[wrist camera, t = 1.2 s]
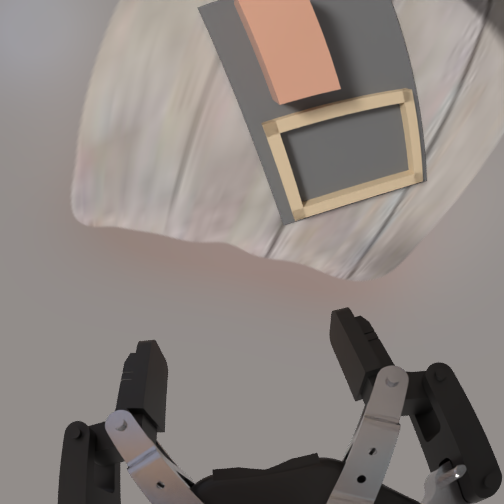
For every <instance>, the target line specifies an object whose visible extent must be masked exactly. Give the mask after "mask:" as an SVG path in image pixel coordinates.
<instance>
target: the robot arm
mask: <svg viewBox="0 0 504 504" xmlns="http://www.w3.org/2000/svg"><path fill="white" fill-rule="evenodd" d="M330 341H331V345H332V347H333V350H334V352H335V354H336V356H337V359H338V361H339V364H340V366H341V368H342V371H343V373H344V375H345V378H346V380H347V382H348V385H349V387H350V390H351V392H352V394H353V397H354V399H355V401H358V400H361V399H363V401H364V403H365V406H364V409H363V412H362V414H361V417H360V420H359V423H358V425H357V428H356V430H355V433H354V435H353V438H352V440H351V443H350V444H349V447H348V449H347V451H346V453H345V455H344V458H343V460H342V461H340V460H336V459H331V458H319V457H318V454H317V453H315V454H311V455H307V456H302V457H298V458H293V459H290V460H288V461H286V462H284V463H281V464H279V465H277V466H274V467H272V468H269V469H266V470H261V469H248V468H239V467H238V468H227V469H215V470H213V475H210V476H208V477H206V478H203V479H202V480H200V481H198V482H197V483H195V482H194V481H193V480H192V479H191V478H190V477H189V476H188V475H187V474H186V473H185V472H184V471H183V470H182V469H181V468H180V467H179V466H178V465H177V464H176V463H175V461H174V460H173V459H172V458H171V457H170V456H169V455H168V453H167V452H166V451H165V450H164V449H163V447H162V446H161V445H160V443H159V442H158V441H157V440H156V439H157V432H165V411H166V394H167V378H168V366H167V362H166V360H165V358H164V356H163V354H162V352H161V350H160V348H159V346H158V344H157V342H156V341H155V340H148V341H139V342H138V345H137V350H136V353H130V355H129V356H128V358H127V359H126V361H125V363H124V368H123V374H122V378H121V380H122V381H121V383H120V388H119V394H118V399H117V405H116V410H115V411H114V412H112V413H111V414H110V415H109V416H108V417H107V419H106V421H105V422H102V423H98V424H95V425H91V426H87V425H86V424H85V423H83V422H80V421H75V422H73V423H71V424H70V425H69V426H68V427H67V428H66V430H65V434H64V441H63V449H62V456H61V466H60V476H59V491H58V504H121V501H120V500H121V499H120V462H123V461H125V462H126V463H127V465H128V468H127V470H128V472H129V474H130V475H131V477H132V478H133V480H134V481H135V483H136V484H137V485H138V487H139V488H140V489H141V491H142V492H143V493H144V495H145V496H146V497H147V498H148V500H149V501H150V502H151V503H152V504H474V503H477V502H479V501H481V500H484V499H486V498H488V497H491V496H492V495H494V494H495V493H496V492H497V490H498V489H499V487H500V485H501V481H502V474H501V471H500V468H499V466H498V463H497V460H496V458H495V456H494V453H493V451H492V448H491V446H490V444H489V442H488V439H487V437H486V435H485V432H484V430H483V428H482V426H481V424H480V422H479V420H478V418H477V416H476V414H475V412H474V410H473V408H472V406H471V404H470V402H469V400H468V398H467V396H466V394H465V392H464V390H463V389H462V387H461V385H460V383H459V381H458V379H457V378H456V376H455V374H454V372H453V371H452V369H451V368H450V367H449V366H448V365H446V364H444V363H434V364H432V365H430V366H429V367H428V369H427V371H420V372H405V370H404V369H402V368H400V367H398V366H395V365H394V364H393V362H392V360H391V358H390V357H389V355H388V353H387V351H386V350H385V348H384V346H383V345H382V343H381V341H380V340H379V339H378V336H377V334H376V333H375V332H374V329H373V328H372V326H371V324H370V323H369V322H368V321H367V320H366V319H364V318H363V317H362V316H358V317H354V315H353V314H352V312H351V310H350V309H349V308H348V307H347V308H343V309H339V310H334V311H332V314H331V324H330ZM405 415H409V416H410V418H411V421H412V423H413V426H414V428H415V431H416V434H417V436H418V439H419V441H420V444H421V447H422V449H423V452H424V455H425V458H426V460H427V463H428V466H429V469H430V472H431V473H430V474H429V475H428V477H427V478H426V480H425V484H424V488H425V496H424V499H423V501H422V502H421V503H419V502H418V501H416V500H414V499H411V498H409V497H407V496H405V495H403V494H401V493H399V492H397V491H395V490H393V489H391V488H389V487H387V486H385V485H384V484H382V482H383V479H384V477H385V474H386V471H387V469H388V466H389V463H390V460H391V457H392V454H393V451H394V448H395V445H396V442H397V438H398V435H399V431H400V424H399V420H400V417H401V416H405Z"/></svg>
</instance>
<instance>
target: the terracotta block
mask: <svg viewBox="0 0 504 504" xmlns="http://www.w3.org/2000/svg"><path fill="white" fill-rule="evenodd" d="M234 5H235V8H236V10H237V12H238V14H239V17H240V19H241V21H242V23H243V26H244V28H245V30H246V33H247V35H248V38H249V40H250V42H251V45H252V47H253V50H254V52H255V55H256V57H257V60H258V62H259V65H260V67H261V70H262V72H263V75H264V78H265V80H266V83H267V86H268V88H269V91H270V94H271V96H272V99H273V100H274V101H275V102H277V103H278V104H279V105H281V104H285V103H288V102H292V101H295V100H299V99H302V98H306V97H310V96H314V95H318V94H322V93H326V92H330V91H334V90H339V89H341V88H340V84H339V81H338V77H337V74H336V71H335V68H334V65H333V61H332V58H331V55H330V52H329V50H328V47H327V44H326V41H325V38H324V35H323V33H322V30H321V27H320V25H319V22H318V20H317V17H316V15H315V12H314V10H313V7H312V5H311V3H310V0H234Z"/></svg>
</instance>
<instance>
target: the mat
mask: <svg viewBox="0 0 504 504" xmlns="http://www.w3.org/2000/svg"><path fill="white" fill-rule="evenodd" d="M310 3H311V5H312V7H313V10H314V12H315V15H316V17H317V20H318V22H319V25H320V27H321V30H322V33H323V35H324V38H325V41H326V44H327V47H328V50H329V52H330V55H331V58H332V61H333V65H334V68H335V71H336V74H337V77H338V81H339V84H340V88H341V89H339V90H334V91H330V92H326V93H322V94H318V95H314V96H310V97H306V98H302V99H299V100H295V101H292V102H288V103H285V104H281V105H279V104H278V103H277V102H275V101H274V100H273V99H272V96H271V94H270V91H269V88H268V86H267V83H266V80H265V78H264V75H263V72H262V70H261V67H260V65H259V62H258V60H257V57H256V55H255V52H254V50H253V47H252V45H251V42H250V40H249V38H248V35H247V33H246V30H245V28H244V26H243V23H242V21H241V19H240V17H239V14H238V12H237V10H236V8H235V5H234V0H218V1H215V2H212V3H209V4H206V5H204V6H201V7H198V10H199V12H200V14H201V16H202V19H203V21H204V23H205V25H206V28H207V30H208V32H209V34H210V37H211V39H212V41H213V44H214V46H215V48H216V51H217V53H218V55H219V58H220V60H221V62H222V65H223V67H224V69H225V72H226V74H227V77H228V79H229V82H230V84H231V86H232V89H233V91H234V94H235V96H236V99H237V101H238V104H239V106H240V109H241V111H242V114H243V116H244V119H245V122H246V124H247V127H248V129H249V132H250V134H251V137H252V140H253V142H254V145H255V148H256V150H257V153H258V156H259V158H260V161H261V164H262V166H263V169H264V172H265V174H266V177H267V180H268V183H269V185H270V188H271V191H272V194H273V197H274V199H275V202H276V205H277V208H278V211H279V214H280V216H281V219H282V222H283V225H286V224H289V223H292V222H295V221H298V220H301V219H305V218H308V217H311V216H314V215H317V214H320V213H323V212H327V211H330V210H333V209H336V208H339V207H342V206H346V205H349V204H352V203H355V202H358V201H362V200H365V199H368V198H371V197H374V196H378V195H381V194H384V193H387V192H391V191H394V190H397V189H401V188H404V187H407V186H411V185H414V184H417V183H421V182H424V181H427V177H426V161H425V149H424V139H423V131H422V123H421V116H420V110H419V103H418V98H417V92H416V87H415V82H414V78H413V73H412V69H411V64H410V60H409V56H408V53H407V49H406V45H405V42H404V38H403V35H402V32H401V28H400V25H399V22H398V19H397V16H396V13H395V11H394V8H393V5H392V3H391V0H310Z"/></svg>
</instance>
